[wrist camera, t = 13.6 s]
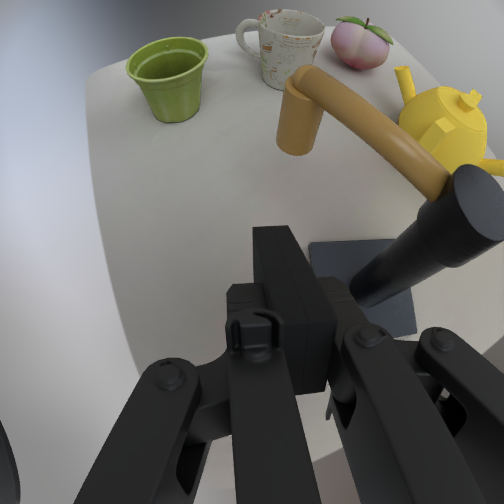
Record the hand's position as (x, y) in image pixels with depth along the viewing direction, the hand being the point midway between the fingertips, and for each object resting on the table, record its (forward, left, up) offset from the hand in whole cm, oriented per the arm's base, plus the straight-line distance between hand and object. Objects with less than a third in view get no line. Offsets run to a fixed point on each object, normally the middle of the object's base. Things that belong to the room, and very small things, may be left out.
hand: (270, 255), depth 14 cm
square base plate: (+11, +1, -16) cm, 19 cm away
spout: (+7, +6, -5) cm, 11 cm away
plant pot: (-8, +26, -16) cm, 32 cm away
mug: (+5, +33, -16) cm, 37 cm away
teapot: (+26, +19, -16) cm, 36 cm away
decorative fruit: (+19, +37, -16) cm, 45 cm away
